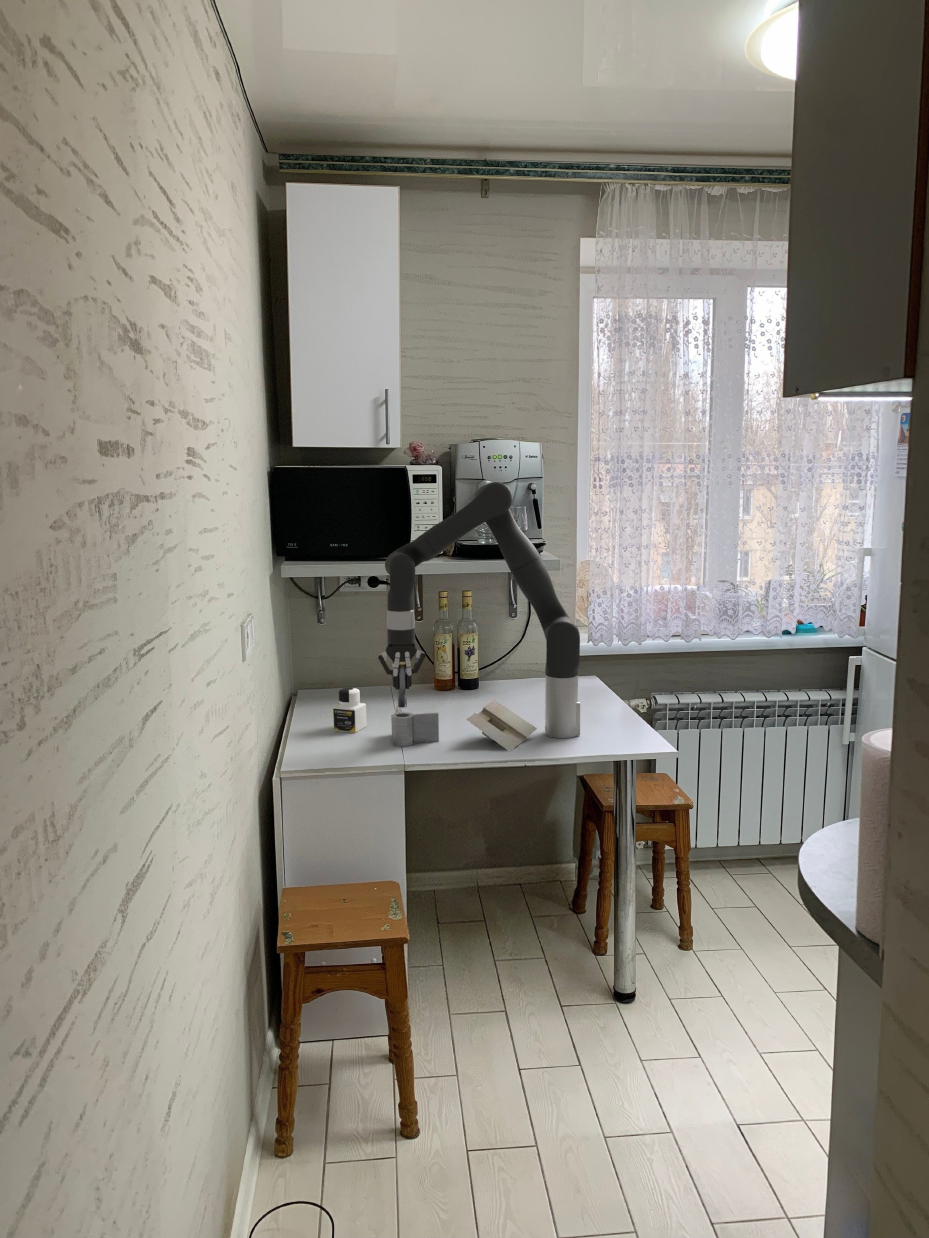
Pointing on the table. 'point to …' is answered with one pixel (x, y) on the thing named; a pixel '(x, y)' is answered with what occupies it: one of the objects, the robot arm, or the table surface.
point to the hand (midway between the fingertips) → (402, 688)
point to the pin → (402, 685)
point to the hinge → (414, 728)
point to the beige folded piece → (502, 725)
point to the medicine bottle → (349, 711)
